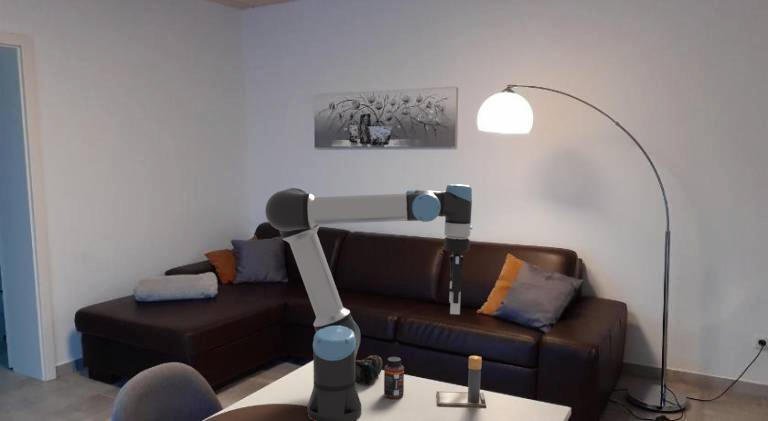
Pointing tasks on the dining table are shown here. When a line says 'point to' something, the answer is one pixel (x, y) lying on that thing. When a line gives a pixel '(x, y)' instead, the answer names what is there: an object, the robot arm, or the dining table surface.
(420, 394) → the dining table surface
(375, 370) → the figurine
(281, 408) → the dining table surface
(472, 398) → the marker
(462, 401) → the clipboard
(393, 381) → the supplement bottle
